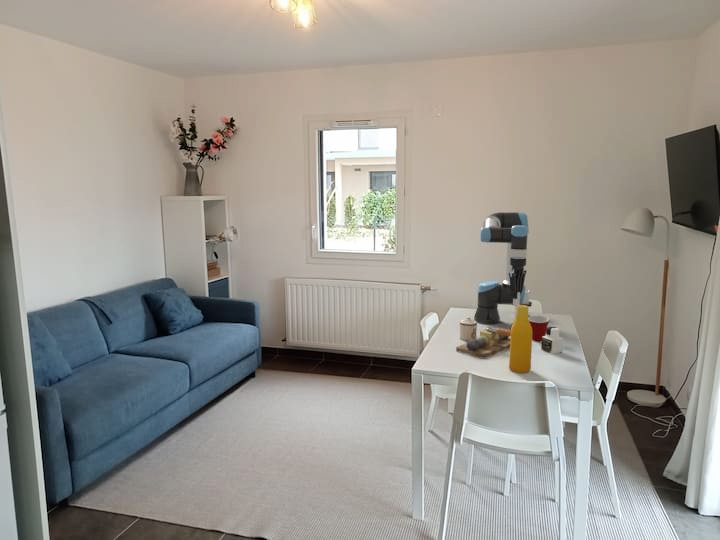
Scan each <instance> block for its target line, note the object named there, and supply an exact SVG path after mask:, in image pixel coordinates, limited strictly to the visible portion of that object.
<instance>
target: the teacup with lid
mask: <svg viewBox="0 0 720 540" xmlns="http://www.w3.org/2000/svg"><path fill="white" fill-rule="evenodd" d="M477 325H478V322H476V321H474V319H472V318H471V316H466V318H464V319H461V320H460V321H459V339H460V340H463V341H467V340H468V341H469V340H475V339H477V332H478V331H477ZM468 341H467V342H468Z"/></svg>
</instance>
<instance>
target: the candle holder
mask: <svg viewBox="0 0 720 540" xmlns="http://www.w3.org/2000/svg"><path fill="white" fill-rule="evenodd" d="M532 304H533V302H532V301H530V290H528V291H525V296H524V300H523V303H522V304H521V305H526V306H528V308H530V307H532ZM514 306H515V309H514V318H516V314H517V308H518V306H517V305H514Z"/></svg>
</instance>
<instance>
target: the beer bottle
mask: <svg viewBox="0 0 720 540" xmlns="http://www.w3.org/2000/svg"><path fill="white" fill-rule="evenodd" d="M510 331H511V336H510V337H509V338H510V348H509V361H508V369H509V370H510V371H511V372H514V373H516V374H517V373H518V374H526V373H530V371H531V368H532V350H533V349H532V347H533V345H532V344H533V340H532V327H531V325H530V322H529V306H526V305H518V308H517V314H516V317H515V320H514V321H513V323H512V325H511V328H510Z"/></svg>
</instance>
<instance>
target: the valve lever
mask: <svg viewBox="0 0 720 540" xmlns="http://www.w3.org/2000/svg"><path fill="white" fill-rule="evenodd" d="M485 329H486V330H488V331H493V332H497V334H501V335H505V336H509V337H508V338H510V337H511V330H509V329H507V330H505V329H506V328H494V327H490V326H488V327H486V328H485Z"/></svg>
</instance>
